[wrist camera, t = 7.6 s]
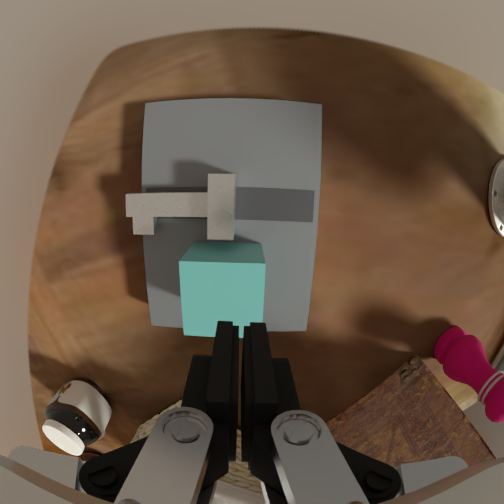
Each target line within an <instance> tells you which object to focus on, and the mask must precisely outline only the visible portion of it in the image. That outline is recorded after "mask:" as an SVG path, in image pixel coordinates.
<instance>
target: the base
mask: <svg viewBox="0 0 504 504" xmlns="http://www.w3.org/2000/svg"><path fill="white" fill-rule="evenodd" d="M321 149H322V104H315V103H306V102H297V101H285V100H271V99H250V98H207V99H185V100H171V101H160V102H151V103H145V114H144V128H143V146H142V193H145V192H208V174H236V175H237V178H236V216H235V235H234V240H211V239H207V217H157V233H156V234H154V235H143V247H144V261H145V273H146V284H147V293H148V302H149V310H150V318H151V325H153V326H164V327H176V328H183V318H182V306H181V291H180V274H179V260H180V259H181V258H182V257H183V255H184V254H185V253H186V252H187V250H188V249H189V248H190V247H191V245H192V244H193V243H194V242H224V243H261V244H262V249H263V253H264V258H265V263H266V268H265V288H264V306H263V323H266V328H267V331H306V328H307V321H308V313H309V305H310V297H311V289H312V280H313V270H314V261H315V250H316V238H317V226H318V212H319V196H320V177H321Z"/></svg>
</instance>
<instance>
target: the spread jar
mask: <svg viewBox="0 0 504 504" xmlns="http://www.w3.org/2000/svg"><path fill="white" fill-rule="evenodd" d="M45 414H46V419H47V420H46V422H45V423H44V425H43V427H42V429H43V432H44V433H45V435H46V436H47V437H48V438H49V439H50V440H51V441H52V442H53V443H54V444H55V445H56V446H58V447H59V448H61V449H62V450H64V451H66V452H68V453H70V454H72V455H76V456H79V455H81V454H82V452H83V450H84V448H85V446H87V445H90V444H92V443H94V442H95V441H97V440H99V439H101V438H102V437H103V436H104V435H105V428H106V426H107V424H108V422H109V420H110V418H111V414H112V408H111V405H110V403H109V401H108V399H107V398H106V396H105V395H104V393H103V392H102V391H101V390H100V389H99V388H98V387H97V386H96V385H94V384H93V383H91V382H90V381H88V380H85V379H81V378H77V379H73V380H71V381H69V382H68V383H66V384H65V385H63V386H62V387H61V388H60V389H59V391H58V392H57V393H56V394H55V396H54V397H53V398H52V400H51V401H50V403H49V404H48V406H47V408H46V413H45Z"/></svg>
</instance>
